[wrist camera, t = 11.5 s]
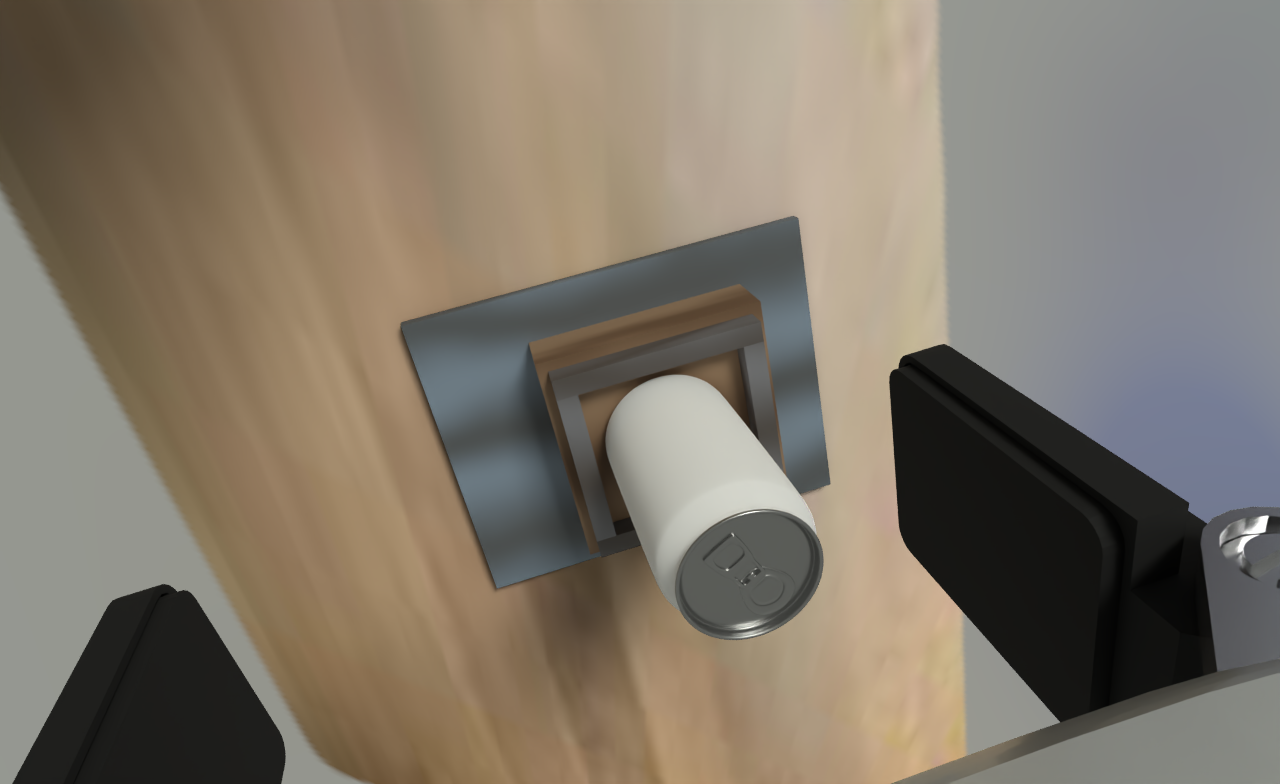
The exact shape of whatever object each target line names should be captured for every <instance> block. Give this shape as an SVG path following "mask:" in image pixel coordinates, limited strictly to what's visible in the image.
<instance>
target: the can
mask: <svg viewBox="0 0 1280 784" xmlns="http://www.w3.org/2000/svg"><path fill="white" fill-rule="evenodd" d="M605 442H606V451H607V456H608V459H609V462H610V465H611V468H612V470H613V473H614V476H615V478H616V481H617V484H618V486H619V489H620V491H621V494H622V497H623V499H624V502H625V504H626V507H627V509H628V512H629V515H630V517H631V520H632V522H633V525H634V527H635V530H636V532H637V535H638V538H639V540H640V543H641V545H642V548H643V550H644V553H645V555H646V558H647V560H648V563H649V565H650V568H651V570H652V573H653V575H654V577H655V580H656V582H657V584H658V586H659V588H660V590H661V591H662V593H663V595H664V596H665V598H666V599H667V600H668V601H669V602H670V603H671V604H672V605H673V606H674V607H675V608H676V609H677V610H679V611H680V612H681V613H682V615H683V616H684V618H685V619H686V620H687V621H688V622H689V624H691V625H692V626H693V627H694V628H695V629H697V630H698V631H700V632H702V633H704V634H706V635H708V636H711V637H715V638H719V639H725V640H742V639H749V638H754V637H757V636H761V635H764V634H766V633H769V632H771V631H773V630H775V629H777V628H779V627H781V626H782V625H784V624H786V623H787V622H788V621H790V620H791V619H792V618H794V617H795V616H796V615H797V614H798V613H799V612H800V611H801V610H802V609H803V608H804V607H805V606H806V605H807V603H808V602H809V601H810V599H811V598H812V596H813V595H814V593H815V591H816V589H817V587H818V585H819V582H820V579H821V576H822V571H823V551H822V547H821V544H820V541H819V539H818V537H817V535H816V528H815V523H814V519H813V516H812V514H811V512H810V510H809V508H808V506H807V504H806V503H805V501H804V500H803V498H802V497H801V495H800V494H799V493H798V491H797V490H796V489H795V487H794V486H793V485H792V483H791V482H790V481H789V479H788V478H787V477H786V475H785V474H784V473H783V472H782V470H781V469H780V468H779V466H778V465H777V464H776V463H775V461H774V460H773V459H772V457H771V456H770V455H769V454H768V452H767V451H766V450H765V448H764V447H763V446H762V445H761V443H760V442H759V441H758V439H757V438H756V437H755V436H754V434H753V433H752V432H751V431H750V429H749V428H748V427H747V425H746V424H745V423H744V422H743V420H742V419H741V418H740V417H739V415H738V414H737V413H736V412H735V410H734V409H733V408H732V407H731V405H730V404H729V403H728V402H727V400H726V399H725V398H724V397H723V396H722V395H721V393H720V392H719V391H718V390H717V389H715V388H714V387H713V386H712V385H710V384H709V383H707V382H705V381H703V380H701V379H699V378H696V377H692V376H687V375H666V376H661V377H657V378H654V379H651V380H649V381H646V382H644V383H642V384H641V385H639V386H637V387H636V388H634V389H633V390H632V391H630V392H629V393H628V394H627V395H626V396H625V397H624V398H623V399H622V400H621V401H620V403H619V404H618V405H617V407H616V408H615V410H614V411H613V413H612V415H611V417H610V420H609V423H608V426H607V430H606V440H605Z"/></svg>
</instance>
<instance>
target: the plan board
mask: <svg viewBox="0 0 1280 784" xmlns="http://www.w3.org/2000/svg"><path fill="white" fill-rule="evenodd" d="M401 328H402V331H403V334H404V337H405V339H406V342H407V345H408V348H409V350H410V353H411V356H412V358H413V361H414V364H415V367H416V369H417V372H418V375H419V377H420V380H421V383H422V386H423V388H424V391H425V394H426V396H427V399H428V402H429V405H430V407H431V410H432V413H433V415H434V418H435V421H436V424H437V426H438V429H439V432H440V435H441V437H442V440H443V443H444V445H445V448H446V451H447V454H448V456H449V459H450V462H451V464H452V467H453V470H454V473H455V475H456V478H457V481H458V483H459V486H460V489H461V492H462V494H463V497H464V500H465V502H466V505H467V508H468V511H469V513H470V516H471V519H472V522H473V524H474V527H475V530H476V532H477V535H478V538H479V541H480V543H481V546H482V549H483V551H484V554H485V557H486V560H487V562H488V565H489V568H490V570H491V573H492V576H493V579H494V581H495V584H496V587H497V588H500V587H504V586H507V585H510V584H513V583H516V582H520V581H523V580H526V579H529V578H532V577H536V576H539V575H542V574H545V573H548V572H552V571H555V570H558V569H561V568H564V567H568V566H571V565H574V564H577V563H580V562H584V561H587V560H590V559H593V558H596V557H600V556H601V557H605V556H608V555H611V554H614V553H618V552H621V551H624V550H627V549H630V548H634V547H637V546H640V545H641V543H640V540H639V538H638V535H637V532H636V530H635V527H634V525H633V522H632V520H631V517H630V515H629V512H628V509H627V507H626V504H625V502H624V499H623V497H622V494H621V491H620V489H619V486H618V484H617V481H616V478H615V476H614V473H613V470H612V468H611V465H610V462H609V459H608V456H607V451H606V442H605V440H606V430H607V426H608V423H609V420H610V417H611V415H612V413H613V411H614V410H615V408H616V407H617V405H618V404H619V403H620V401H621V400H622V399H623V398H624V397H625V396H626V395H627V394H628V393H629V392H630V391H632V390H633V389H634V388H636V387H637V386H639V385H641V384H642V383H644V382H646V381H649V380H651V379H654V378H657V377H661V376H666V375H687V376H692V377H696V378H699V379H701V380H703V381H705V382H707V383H709V384H710V385H712V386H713V387H714V388H715V389H717V390H718V391H719V392H720V393H721V395H722V396H723V397H724V398H725V399H726V400H727V402H728V403H729V404H730V405H731V407H732V408H733V409H734V410H735V412H736V413H737V414H738V415H739V417H740V418H741V419H742V420H743V422H744V423H745V424H746V425H747V427H748V428H749V429H750V431H751V432H752V433H753V434H754V436H755V437H756V438H757V439H758V441H759V442H760V443H761V445H762V446H763V447H764V448H765V450H766V451H767V452H768V454H769V455H770V456H771V457H772V459H773V460H774V461H775V463H776V464H777V465H778V466H779V468H780V469H781V470H782V472H783V473H784V474H785V475H786V477H787V478H788V479H789V481H790V482H791V483H792V485H793V486H794V487H795V489H796V490H797V491H798V493H799V494H801V493H804V492H807V491H810V490H814V489H817V488H820V487H823V486H826V485H829V484H830V476H829V468H828V460H827V451H826V443H825V435H824V427H823V418H822V410H821V402H820V394H819V385H818V377H817V369H816V361H815V352H814V344H813V336H812V328H811V319H810V311H809V303H808V295H807V286H806V278H805V270H804V262H803V253H802V245H801V237H800V229H799V220H798V218H797V217H795V216H791V217H788V218H784V219H780V220H777V221H773V222H769V223H766V224H762V225H758V226H755V227H751V228H747V229H743V230H740V231H736V232H732V233H729V234H725V235H721V236H718V237H714V238H710V239H707V240H703V241H699V242H696V243H692V244H688V245H685V246H681V247H677V248H674V249H670V250H666V251H662V252H659V253H655V254H651V255H648V256H644V257H640V258H637V259H633V260H629V261H626V262H622V263H618V264H615V265H611V266H607V267H604V268H600V269H596V270H592V271H589V272H585V273H581V274H578V275H574V276H570V277H567V278H563V279H559V280H556V281H552V282H548V283H545V284H541V285H537V286H534V287H530V288H526V289H522V290H519V291H515V292H511V293H508V294H504V295H500V296H497V297H493V298H489V299H486V300H482V301H478V302H475V303H471V304H467V305H464V306H460V307H456V308H453V309H449V310H445V311H441V312H438V313H434V314H430V315H427V316H423V317H419V318H416V319H412V320H408V321H405V322H401Z"/></svg>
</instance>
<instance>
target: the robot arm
mask: <svg viewBox="0 0 1280 784" xmlns="http://www.w3.org/2000/svg"><path fill="white" fill-rule="evenodd" d="M889 384H890V399H891V414H892V429H893V444H894V459H895V474H896V489H897V504H898V519H899V528H900V532H901V536H902V538H903V541H904V543H905V545H906V546H907V548H908V549H909V551H910V552H911V553H912V554H913V556H914V557H915V558H916V559H917V560H918V561H919V562H920V564H921V565H922V566H923V567H924V568H925V569H926V570H927V571H928V573H929V574H930V575H931V576H932V577H933V578H934V579H935V581H936V582H937V583H938V584H939V585H940V586H941V587H942V589H943V590H944V591H945V592H946V593H947V594H948V595H949V596H950V598H951V599H952V600H953V601H954V602H955V603H956V604H957V606H958V607H959V608H960V609H961V610H962V611H963V612H964V613H965V615H966V616H967V617H968V618H969V619H970V620H971V621H972V623H973V624H974V625H975V626H976V627H977V628H978V629H979V630H980V632H981V633H982V634H983V635H984V636H985V637H986V638H987V640H988V641H989V642H990V643H991V644H992V645H993V646H994V648H995V649H996V650H997V651H998V652H999V653H1000V654H1001V655H1002V657H1003V658H1004V659H1005V660H1006V661H1007V662H1008V663H1009V665H1010V666H1011V667H1012V668H1013V669H1014V670H1015V671H1016V673H1017V674H1018V675H1019V676H1020V677H1021V678H1022V679H1023V680H1024V682H1025V683H1026V684H1027V685H1028V686H1029V687H1030V688H1031V690H1032V691H1033V692H1034V693H1035V694H1036V695H1037V696H1038V698H1039V699H1040V700H1041V701H1042V702H1043V703H1044V704H1045V705H1046V707H1047V708H1048V709H1049V710H1050V711H1051V712H1052V713H1053V715H1054V716H1055V717H1056V718H1057V719H1058V720H1059V721H1060V722H1061V723H1058V724H1055V725H1052V726H1050V727H1046V728H1044V729H1040V730H1038V731H1035V732H1032V733H1029V734H1026V735H1023V736H1020V737H1017V738H1014V739H1012V740H1009V741H1006V742H1004V743H1001V744H998V745H995V746H993V747H990V748H987V749H985V750H982V751H979V752H976V753H974V754H971V755H968V756H965V757H963V758H960V759H957V760H954V761H952V762H949V763H946V764H944V765H941V766H938V767H935V768H933V769H930V770H927V771H924V772H922V773H919V774H916V775H914V776H911V777H908V778H905V779H903V780H900V781H897V782H894V783H892V784H1280V508H1279V507H1248V508H1243V509H1236V510H1230V511H1228V512H1226V513H1223V514H1221V515H1219V516H1216V517H1214V518H1213V519H1212V520H1211V521H1210V522H1209V523H1208V524H1207V523H1205V522H1204V521H1202V520H1201V519H1199V518H1198V517H1196V516H1195V515H1193V514H1192V513H1190V512H1189V511H1188V508H1189V503H1188V502H1187V501H1185V500H1184V499H1182V498H1180V497H1179V496H1178V495H1176V494H1175V493H1173V492H1172V491H1170V490H1168V489H1167V488H1165V487H1164V486H1162V485H1161V484H1159V483H1158V482H1156V481H1155V480H1153V479H1152V478H1150V477H1149V476H1147V475H1146V474H1144V473H1143V472H1141V471H1139V470H1138V469H1136V468H1135V467H1133V466H1132V465H1130V464H1129V463H1127V462H1126V461H1124V460H1123V459H1121V458H1120V457H1118V456H1117V455H1115V454H1113V453H1112V452H1110V451H1109V450H1107V449H1106V448H1104V447H1103V446H1101V445H1100V444H1098V443H1097V442H1095V441H1093V440H1092V439H1090V438H1089V437H1087V436H1086V435H1084V434H1083V433H1081V432H1080V431H1078V430H1077V429H1075V428H1074V427H1072V426H1071V425H1069V424H1068V423H1066V422H1065V421H1063V420H1061V419H1060V418H1058V417H1057V416H1055V415H1054V414H1052V413H1051V412H1049V411H1048V410H1046V409H1045V408H1043V407H1042V406H1040V405H1038V404H1037V403H1035V402H1034V401H1032V400H1031V399H1029V398H1028V397H1026V396H1025V395H1023V394H1022V393H1020V392H1019V391H1017V390H1015V389H1014V388H1013V387H1011V386H1009V385H1008V384H1006V383H1005V382H1003V381H1002V380H1000V379H999V378H997V377H996V376H994V375H993V374H991V373H990V372H988V371H987V370H985V369H983V368H982V367H980V366H979V365H977V364H976V363H974V362H973V361H971V360H970V359H968V358H967V357H965V356H963V355H962V354H960V353H959V352H957V351H956V350H954V349H953V348H951V347H950V346H947V345H945V344H942V345H937V346H934V347H931V348H928V349H924V350H921V351H918V352H915V353H911V354H908V355H905V356H903V357H902V358H901V359H900V363H899V369H895V370H893V371H892V372H891V374H890V381H889ZM284 766H285V747H284V742H283V739H282V736H281V734H280V732H279V730H278V729H277V727H276V725H275V724H274V722H273V721H272V719H271V717H270V716H269V714H268V713H267V711H266V709H265V708H264V706H263V705H262V703H261V702H260V700H259V698H258V697H257V695H256V694H255V692H254V690H253V689H252V687H251V686H250V684H249V682H248V681H247V679H246V678H245V676H244V674H243V673H242V671H241V670H240V668H239V667H238V665H237V663H236V662H235V660H234V659H233V657H232V656H231V654H230V652H229V651H228V649H227V648H226V646H225V644H224V643H223V641H222V640H221V638H220V636H219V635H218V633H217V632H216V630H215V629H214V627H213V625H212V624H211V622H210V621H209V619H208V617H207V616H206V614H205V613H204V611H203V610H202V608H201V606H200V605H199V603H198V602H197V600H196V599H195V597H194V596H193V595H192V594H191V593H190V592H188V591H184V590H183V591H179V592H177V591H176V590H175V589H174V588H173V587H171V586H169V585H165V584H162V585H159V586H156V587H152V588H149V589H146V590H143V591H140V592H136V593H133V594H130V595H127V596H123V597H120V598H117V599H115V600H113V601H112V602H111V603H110V604H109V606H108V607H107V609H106V611H105V612H104V614H103V616H102V618H101V620H100V622H99V624H98V625H97V627H96V629H95V631H94V633H93V635H92V637H91V639H90V640H89V642H88V644H87V646H86V648H85V650H84V652H83V653H82V655H81V657H80V659H79V661H78V663H77V665H76V666H75V668H74V670H73V672H72V674H71V676H70V678H69V679H68V681H67V683H66V685H65V687H64V689H63V691H62V693H61V695H60V696H59V698H58V700H57V702H56V704H55V706H54V707H53V709H52V711H51V713H50V715H49V717H48V718H47V720H46V722H45V724H44V726H43V728H42V730H41V731H40V733H39V735H38V737H37V739H36V741H35V743H34V744H33V746H32V748H31V750H30V752H29V754H28V756H27V757H26V760H25V761H24V763H23V765H22V767H21V769H20V770H19V772H18V774H17V776H16V778H15V780H14V782H13V784H281V782H282V776H283V771H284Z"/></svg>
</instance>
